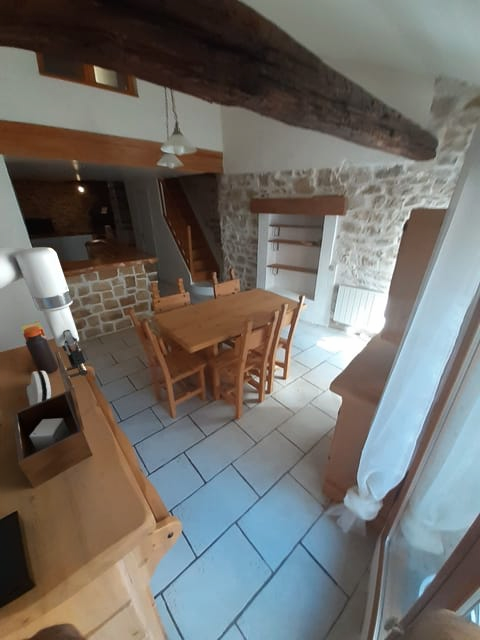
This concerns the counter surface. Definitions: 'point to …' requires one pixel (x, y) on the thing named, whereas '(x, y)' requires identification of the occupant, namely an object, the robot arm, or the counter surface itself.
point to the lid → (71, 386)
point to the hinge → (38, 388)
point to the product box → (49, 433)
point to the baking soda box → (32, 326)
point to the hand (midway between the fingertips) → (74, 356)
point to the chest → (56, 455)
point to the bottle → (40, 350)
